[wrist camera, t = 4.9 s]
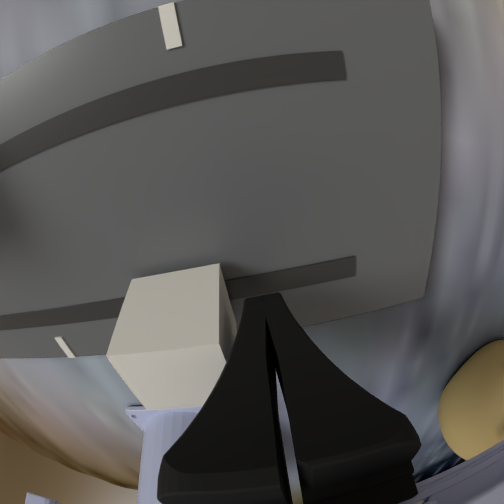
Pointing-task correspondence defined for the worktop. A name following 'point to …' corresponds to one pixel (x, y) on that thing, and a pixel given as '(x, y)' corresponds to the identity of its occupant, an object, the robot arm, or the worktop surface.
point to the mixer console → (220, 163)
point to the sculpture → (475, 403)
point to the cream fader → (174, 337)
